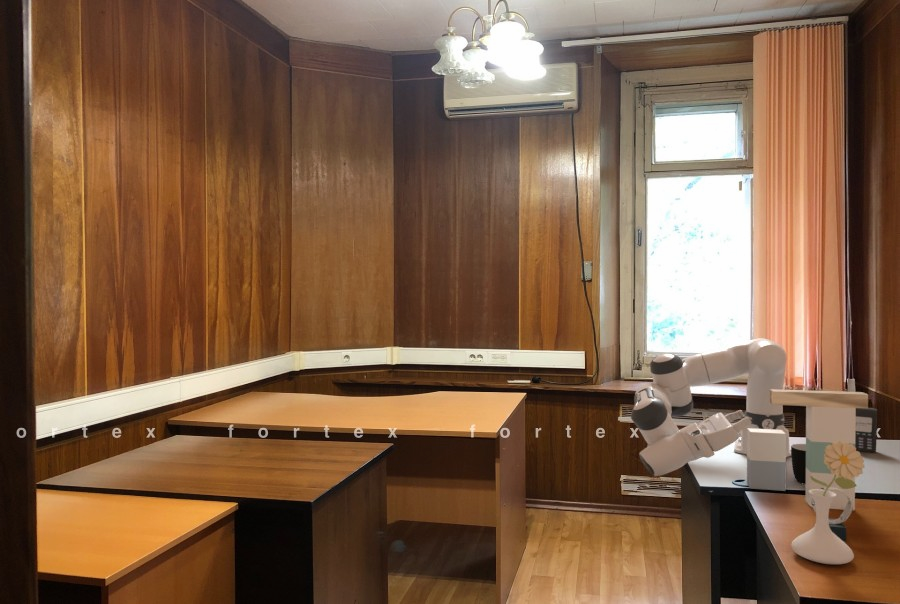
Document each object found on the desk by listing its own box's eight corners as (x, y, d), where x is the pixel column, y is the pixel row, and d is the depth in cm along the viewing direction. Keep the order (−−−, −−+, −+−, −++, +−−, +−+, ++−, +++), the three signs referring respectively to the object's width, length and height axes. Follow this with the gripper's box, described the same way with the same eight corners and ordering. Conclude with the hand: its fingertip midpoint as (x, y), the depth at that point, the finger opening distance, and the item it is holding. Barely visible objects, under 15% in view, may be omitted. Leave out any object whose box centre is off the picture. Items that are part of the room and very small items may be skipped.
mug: (833, 486, 183) (833, 451, 183) (802, 487, 183) (802, 451, 182) (807, 474, 195) (807, 441, 195) (778, 474, 194) (778, 441, 194)
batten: (769, 402, 172) (769, 389, 172) (862, 405, 166) (862, 392, 166) (772, 404, 168) (772, 391, 168) (867, 408, 163) (868, 394, 163)
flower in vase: (795, 565, 131) (796, 443, 131) (787, 544, 142) (788, 431, 142) (869, 575, 127) (871, 448, 126) (856, 552, 137) (857, 436, 137)
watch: (808, 529, 151) (809, 482, 150) (848, 533, 148) (848, 485, 148) (814, 538, 145) (815, 490, 145) (855, 542, 143) (856, 493, 143)
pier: (746, 483, 186) (747, 428, 186) (781, 485, 184) (781, 429, 184) (750, 488, 181) (750, 431, 181) (785, 490, 179) (785, 433, 179)
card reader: (844, 450, 223) (845, 407, 223) (845, 447, 227) (845, 405, 226) (876, 454, 218) (876, 409, 218) (876, 451, 221) (876, 408, 221)
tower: (805, 500, 171) (806, 403, 170) (847, 503, 168) (848, 404, 168) (811, 507, 166) (811, 406, 165) (854, 510, 163) (855, 408, 163)
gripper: (699, 441, 184) (745, 418, 181) (709, 459, 164) (760, 435, 161) (688, 421, 185) (733, 398, 182) (696, 437, 165) (747, 412, 162)
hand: (746, 416), depth 171 cm, fingers open, 8 cm apart
